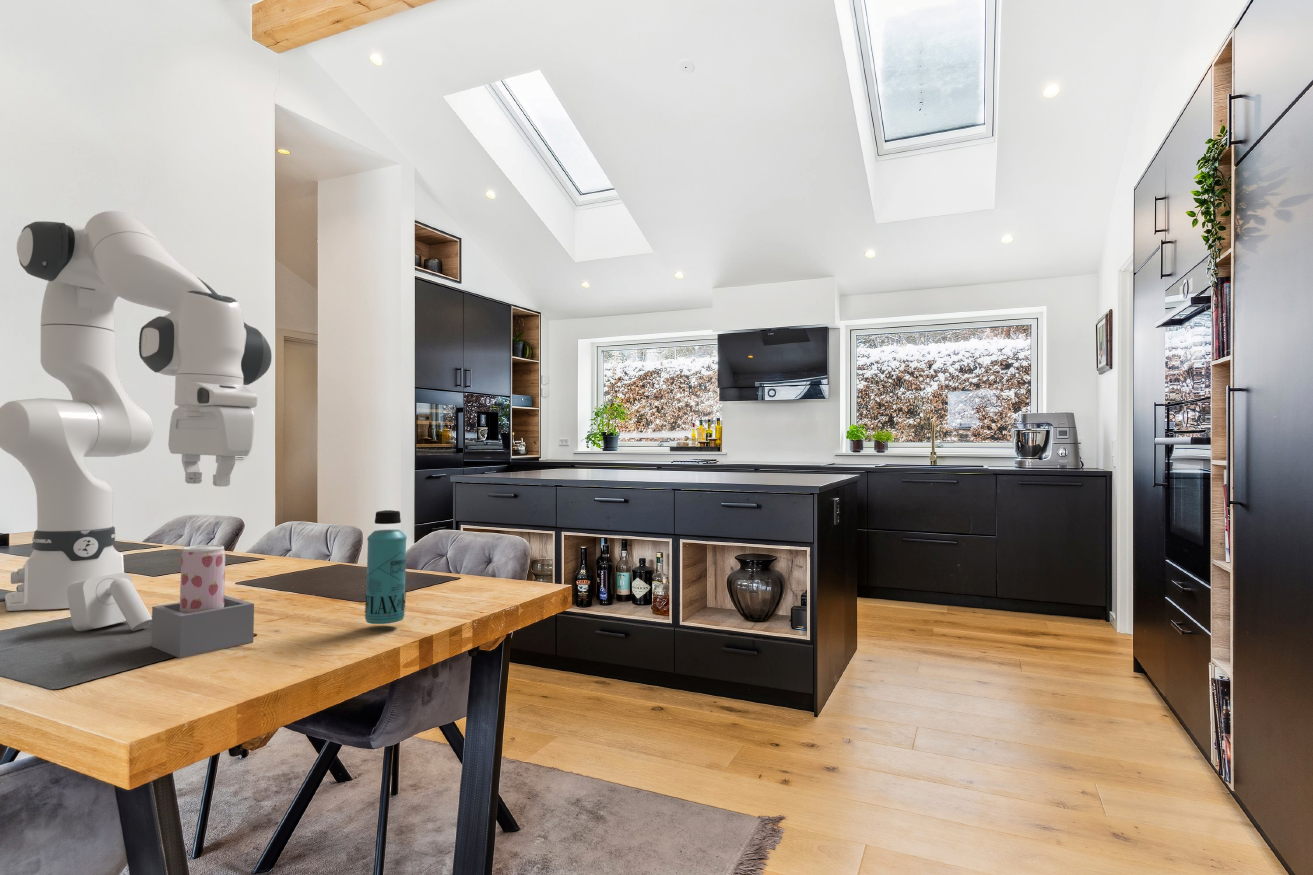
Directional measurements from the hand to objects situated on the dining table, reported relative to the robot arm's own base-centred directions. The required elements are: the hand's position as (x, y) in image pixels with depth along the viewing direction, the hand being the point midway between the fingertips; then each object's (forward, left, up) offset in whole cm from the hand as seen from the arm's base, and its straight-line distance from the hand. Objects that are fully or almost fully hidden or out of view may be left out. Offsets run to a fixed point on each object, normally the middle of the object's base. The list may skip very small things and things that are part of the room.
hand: (206, 484), depth 104 cm
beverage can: (0, 0, -25) cm, 25 cm away
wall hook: (-21, -4, -25) cm, 33 cm away
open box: (0, 0, -25) cm, 25 cm away
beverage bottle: (+14, +22, -25) cm, 36 cm away
